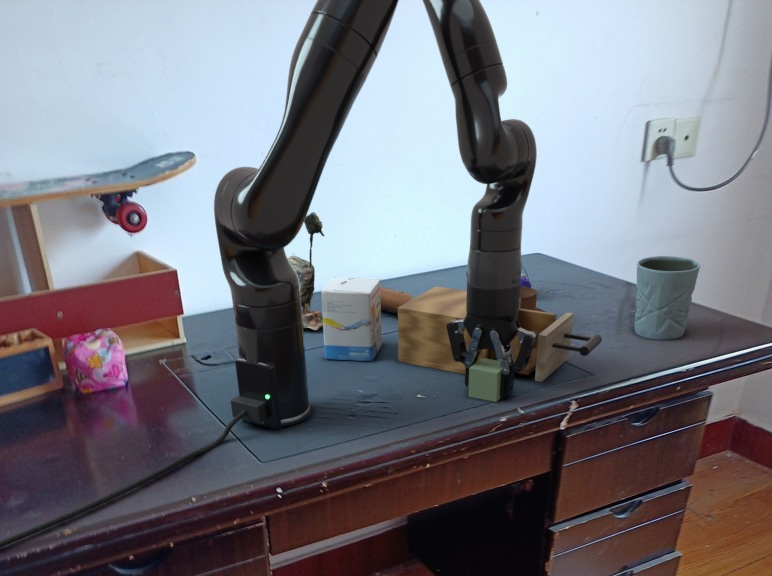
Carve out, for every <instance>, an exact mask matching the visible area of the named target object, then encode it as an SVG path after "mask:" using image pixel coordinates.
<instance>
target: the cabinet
mask: <svg viewBox="0 0 772 576" xmlns="http://www.w3.org/2000/svg"><path fill="white" fill-rule="evenodd" d="M466 297H467V290H465V289H464V290H462V289H456V288H449V287H442V286H433V288H431V289H428V290H427V291H425V292H423V293H421V294H419V295H418V296H416V297H413V298H414V299H413V300H411V301H409V302H407V303H405V304H404V305H402V306H400V307H398V314H397V340H398V343H397V345H398V363H403V364H409V365H414V366H420V367H424V368H430V369H436V370H439V371H445V372H450V373H456V374H460V375H465V369H466V368H465V366H464V364H463V363H461V362H456V361H455V360H454V359H453V354H452V350H451V345H450V341H449V336H448V332H447V327H446V326H447V324H448V323H449V322H451V321H452V320H454V319H456V318H458V319H460V320H462V319H464V318H465V317H466V314H467V310H466ZM520 303H521V299H519V308H520ZM463 334H464V339H465V344H466V348H467V350H468V347H469V344H470V342H471V337H470V336H469V334H468V332H467V330H466V329H465V331H464V333H463ZM482 358H485V359H488V349H483V350H482V351H481V354H480V356H479V359H478V361H479V360H480V359H482ZM478 361H477V362H478Z"/></svg>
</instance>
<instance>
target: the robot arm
mask: <svg viewBox="0 0 772 576" xmlns="http://www.w3.org/2000/svg"><path fill="white" fill-rule="evenodd" d="M399 1H400V0H317V1H316V2H315V4H314V6H313V8H312V10H311V12H310V15H309V16H308V19H307V20H306V22H305V24H304V27H303V29H302V31H301V34H300V35H299V38H298V40H297V42H296V45H295V47H294V49H293V53H292V55H291V59H290V63H289V69H288V75H287V85H286V95H285V96H286V97H285V104H284V112H283V116H282V120H281V124H280V127H279V129H278V131H277V133H276V136H275V138H274V141H273V142H272V144H271V146H270V148H269V150H268V152H267V154H266V156H265V158H264V160H263V161H262V163H261V164H260V167H259V168H258V167H254V166H238V167H235V168H232V169H231V170H229V171H228V172H227V173H225V174H224V175H223V176H222V178H221V179H220V181H219V182H218V184H217V187H216V189H215V193H214V199H213V214H214V215H213V216H214V223H215V229H216V238H217V244H218V248H219V254H220V261H221V267H222V271H223V274H224V277H225V279H226V281H227V283H228V286H229V289H230V295H231V301H232V309H233V316H234V324H235V325H234V326H235V333H236V341H237V348H238V357H236V358H235V360H234V365H235V372H236V380H237V388H238V396H236V397H234V398H232V399H230V406H231V413H232V419H231V420H230V421H229V423H228V424H227V425H226V426H225V428H224V429H223V432H222V433H221V435H220V436H219V437H217V439H215V440H214V441H213V442H211V443H210V444H208V445H205V446H203V447H201V448H198V449H196V450H193V451H190V452H189V453H186V454H185V455H182V456H181V457H179V458H176V459H175V460H174V461H172V462H170V463H168V464H166V465H164V466H162V467H160V468H159V469H156V470H154V471H153V472H151V473H149V474H147V475H145V476H143V477H141V478H139V479H137V480H135V481H133V482H130V483H129V484H127V485H125V486H123V487H121V488H119V489H116V490H114V491H112V492H111V493H108V494H106V495H103V496H102V497H99V498H97V499H95V500H93V501H90V502H89V503H87V504H84V505H82V506H80V507H78V508H75V509H73V510H71V511H68V512H66V513H63V514H62V515H59V516H56V517H54V518H52V519H50V520H47V521H45V522H42V523H40V524H37V525H35V526H33V527H30V528H28V529H25V530H23V531H20V532H18V533H16V534H13V535H11V536H8V537H5V538H3V539H0V548H2V547H5V546H7V545H10V544H12V543H15V542H17V541H19V540H22V539H25V538H27V537H29V536H31V535H34V534H36V533H38V532H41V531H43V530H46V529H49V528H51V527H53V526H56V525H58V524H60V523H62V522H65V521H67V520H69V519H72V518H73V517H76V516H78V515H82V514H83V513H85V512H87V511H90V510H91V509H94V508H96V507H98V506H100V505H102V504H105V503H107V502H109V501H111V500H113V499H116V498H118V497H119V496H122V495H123V494H125V493H128V492H130V491H131V490H133V489H136V488H138V487H140V486H141V485H143V484H145V483H148V482H150V481H152V480H153V479H155V478H157V477H159V476H161V475H163V474H164V473H166V472H168V471H171V470H172V469H174V468H176V467H177V466H179V465H181V464H183V463H184V462H186V461H189V460H190V459H193V458H194V457H196V456H200V455H203V454H204V453H207V452H209V451H210V450H212V449H213V448H216V447H217V446H219V445H220V444H221V443H222V442H224V440H225V439H227V437H228V436H229V433H230V432H231V430H232V429H233V427H234V426H235V425H236V424H237V423H238V422H239V421H240V420H242V422H244V423H247V424H251V425H256V426H259V427H262V428H263V427H264V428H267V429H271V430H279V429H280V428H282V427H287V426H292V425H296V424H299V423H301V422H303V421H305V420H306V419H307V418H309V416H310V415H311V404H310V399H309V385H308V373H307V360H306V348H305V334H304V327H303V321H302V307H301V296H300V283H299V278H298V275H297V273H296V272H295V270H294V269H293V268H292V266H291V265H290V263H289V261H288V259H287V258H288V257H287V254H286V250H285V248H286V247H287V246H289V245H290V244H291V243H292V242H293V241H294V240H295V239H296V237H297V236H298V234H299V233H300V231H301V229H302V227H303V225H304V224H305V223H304V220H305V218H306V216H307V215H308V213H309V211H310V208H311V205H312V202H313V199H314V196H315V194H316V191H317V189H318V185H319V182H320V180H321V177H322V174H323V172H324V169H325V168H326V167H325V166H326V163H328V162H327V161H328V159H329V157H330V154H331V152H332V151H333V148H334V146H335V145H336V142H337V140H338V138H339V136H340V134H341V132H342V130H343V127H344V125H345V124H346V122H347V119H348V117H349V114H350V113H351V110H352V108H353V105H354V104H355V102H356V100H357V98H358V96H359V94H360V92H361V91H362V89H363V87H364V85H365V83H366V81H367V79H368V77H369V75H370V73H371V71H372V69H373V67H374V65H375V62H376V61H377V59H378V56H379V54H380V52H381V50H382V48H383V44H384V42H385V41H386V40H385V39H386V37H387V34H388V32H389V29H390V27H391V24H392V21H393V18H394V15H395V14H396V13H395V12H396V10H397V7H398V4H399ZM422 3H423V6H424V8H425V12H426V14H427V17H428V20H429V24H430V26H431V28H432V33H433V36H434V38H435V39H434V40H435V42H436V45H437V48H438V52H439V55H440V58H441V62H442V65H443V68H444V72H445V74H446V78H447V81H448V84H449V87H450V90H451V94H452V96H453V98H454V99H453V100H454V109H455V124H456V133H457V134H456V136H457V144H458V151H459V155H460V159H461V163H462V164H463V166H464V168H465V170H466V172H467V173H468V175H469V176H470V177H471V178H472V179H473V180H474V181H476V182H477V183H479V184H483V185H486V186H485V191H484V194H483V196H482V197H481V198H480V199H479V200H478V201H477V202H476V203H475V204H473V207H472V208H471V213H470V232H469V251H468V256H467V257H468V258H467V266H466V267H467V268H466V274H465V275H466V291H467V297H466V310H467V314H466V317H465V318H464V319H462V320H460V319H458V318H456V319H454V320H452V321H451V322H449V323H448V324H447V326H446V327H447V332H448V336H449V341H450V345H451V350H452V354H453V359H454V360H455V361H456V362H461V363H463V364H464V366H465V368H466V369H465V374H464V375H465V376H464V377H465V378H464V384H465V387H467V391H469V368H470V367H471V366H472V365H474V364H475V363H476V362H477V361H478V359H479V356H480V354H481V351H482V350H483V349H489V350H491V351H494V352H495V353H496V357H497V360H499V362H500V366H501V370H502V374H501V382H500V397H501V398H507V396H508V395H510V393H512V392H513V390H514V382H515V372H516V373H517V374H520V373H519V372H521V371H522V370H523V369H524V368H525V367H526V366H527V365H528V362H529V359H530V356H531V354H532V351H533V348H534V345H535V342H536V340H537V337H538V333H537V331H535V330H533V331H531V332H529V331H527V330H525V329H523V328H521V327H520V323H519V321H518V312H519V299H520V284H521V274H522V269H523V267H522V266H523V264H522V262H523V261H522V259H523V258H522V236H523V217H524V216H523V215H524V211H525V208H526V205H527V201H528V198H529V194H530V192H531V191H530V190H531V187H532V183H533V179H534V175H535V171H536V165H537V156H538V152H537V142H536V138H535V135H534V132H533V130H532V128H531V127H530V126H529V124H527V123H526V122H525V121H523V120H521V119H516V118H509V119H504V120H502V116H501V112H500V109H501V108H500V102H499V100H500V98H501V97H502V96H503V95H504V94H505V93H506V91H507V89H508V78H507V73H506V69H505V66H504V62H503V59H502V56H501V52H500V48H499V45H498V43H497V42H498V41H497V38H496V35H495V33H494V29H493V27H492V24H491V21H490V19H489V16H488V15H487V12H486V10H485V8H484V6H483V5H482V3H481V1H480V0H422ZM465 329H466V330H467V332H468V334H469V336H470V337H471V342H470V344H469V347H468V350H467V348H466V344H465V339H464V334H463V333H464V331H465ZM516 335H517V336H518V338H519V345H521V347H520V350H519V353H518V356H517V359H516V362H515V360H514V356H513V353H514V349H513V345H512V340H513V339H514V338H515V336H516Z"/></svg>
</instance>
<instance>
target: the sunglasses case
mask: <svg viewBox="0 0 772 576" xmlns="http://www.w3.org/2000/svg"><path fill="white" fill-rule="evenodd" d="M380 295H381V311H386V312H390V313H393V314H395V315H398V307H400V306H402V305H404V304H405V303H407V302H409V301H411V300H413V299H414V298H415V297H414V296H413V295H412V294H411V293H410V292H404V291H403V290H396V289H392V288H389V287H385V286H381V285H380Z"/></svg>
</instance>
